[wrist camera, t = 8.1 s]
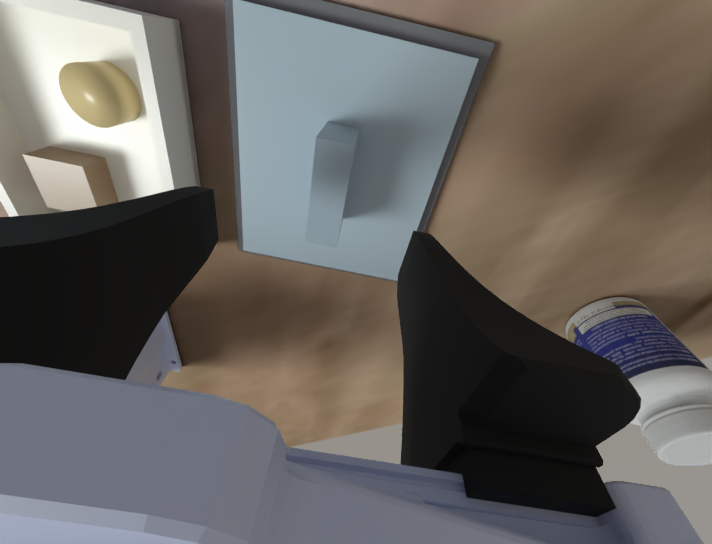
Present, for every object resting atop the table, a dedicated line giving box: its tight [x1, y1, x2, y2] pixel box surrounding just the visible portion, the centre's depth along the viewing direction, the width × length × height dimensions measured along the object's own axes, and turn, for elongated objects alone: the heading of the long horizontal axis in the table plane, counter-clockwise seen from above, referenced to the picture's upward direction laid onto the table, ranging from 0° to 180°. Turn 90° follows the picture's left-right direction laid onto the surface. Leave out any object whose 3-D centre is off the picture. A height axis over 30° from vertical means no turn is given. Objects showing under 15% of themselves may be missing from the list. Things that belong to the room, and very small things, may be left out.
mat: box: [224, 0, 495, 282], centre depth 17 cm, size 14×12×1 cm
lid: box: [233, 0, 479, 281], centre depth 15 cm, size 12×10×4 cm
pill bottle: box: [565, 297, 712, 466], centre depth 19 cm, size 5×5×9 cm
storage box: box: [0, 0, 201, 217], centre depth 16 cm, size 12×10×3 cm
